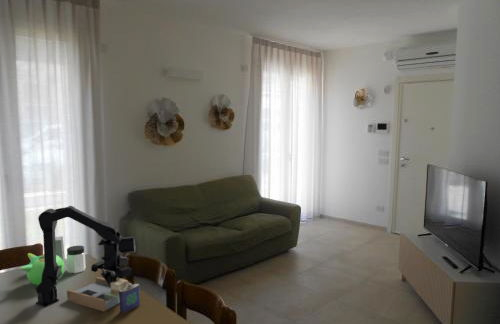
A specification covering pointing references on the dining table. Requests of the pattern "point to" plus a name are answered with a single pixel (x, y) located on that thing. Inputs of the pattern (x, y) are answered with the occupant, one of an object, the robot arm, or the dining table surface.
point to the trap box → (94, 295)
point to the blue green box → (129, 298)
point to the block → (118, 286)
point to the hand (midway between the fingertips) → (112, 288)
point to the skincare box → (60, 248)
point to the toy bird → (38, 268)
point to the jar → (75, 259)
